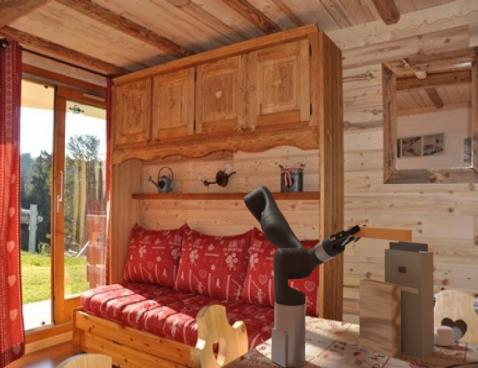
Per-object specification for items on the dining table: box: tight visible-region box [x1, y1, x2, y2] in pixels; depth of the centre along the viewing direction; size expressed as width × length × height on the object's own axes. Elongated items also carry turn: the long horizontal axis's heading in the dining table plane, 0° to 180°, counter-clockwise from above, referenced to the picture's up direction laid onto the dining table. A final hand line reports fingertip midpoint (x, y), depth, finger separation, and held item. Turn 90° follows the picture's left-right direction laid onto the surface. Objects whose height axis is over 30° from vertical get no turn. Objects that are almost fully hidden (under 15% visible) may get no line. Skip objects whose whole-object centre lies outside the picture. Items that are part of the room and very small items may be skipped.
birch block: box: [358, 278, 402, 358], centre depth 127 cm, size 5×12×22 cm, turn 35°
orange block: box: [347, 225, 413, 242], centre depth 129 cm, size 4×22×4 cm, turn 35°
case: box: [384, 241, 435, 359], centre depth 128 cm, size 7×13×34 cm, turn 35°
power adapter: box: [434, 325, 455, 347], centre depth 132 cm, size 11×5×6 cm, turn 83°
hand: (362, 227), depth 134 cm, fingers closed on orange block, 3 cm apart
